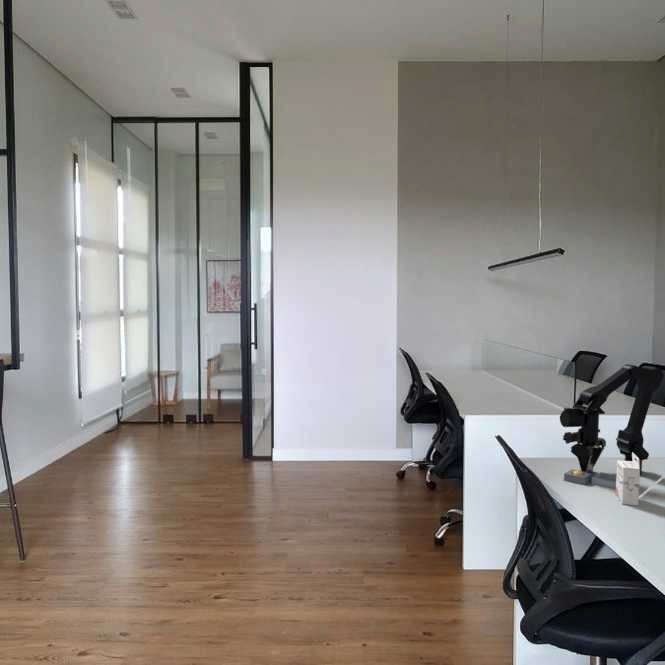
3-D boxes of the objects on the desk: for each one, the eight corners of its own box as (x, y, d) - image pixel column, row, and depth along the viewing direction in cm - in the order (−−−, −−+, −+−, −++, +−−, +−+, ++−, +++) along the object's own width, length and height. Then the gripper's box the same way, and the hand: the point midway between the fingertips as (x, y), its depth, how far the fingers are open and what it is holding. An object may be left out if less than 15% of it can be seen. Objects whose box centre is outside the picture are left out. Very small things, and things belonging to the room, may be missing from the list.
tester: (578, 471, 221) (579, 463, 221) (601, 476, 216) (602, 468, 216) (562, 481, 209) (562, 473, 209) (586, 487, 204) (586, 478, 204)
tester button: (575, 477, 211) (575, 470, 211) (583, 479, 209) (584, 472, 209) (572, 479, 209) (572, 472, 209) (580, 481, 207) (581, 473, 207)
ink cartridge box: (614, 495, 196) (616, 450, 195) (631, 496, 195) (633, 451, 194) (621, 504, 187) (623, 457, 186) (638, 506, 186) (641, 458, 185)
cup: (600, 478, 213) (600, 471, 213) (628, 484, 207) (629, 477, 207) (591, 485, 206) (591, 477, 206) (620, 491, 200) (620, 483, 200)
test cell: (584, 472, 219) (584, 460, 219) (594, 474, 217) (594, 462, 216) (580, 474, 216) (581, 462, 216) (590, 476, 214) (591, 464, 214)
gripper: (576, 419, 228) (574, 460, 229) (557, 426, 214) (555, 470, 215) (607, 423, 220) (605, 465, 221) (589, 431, 206) (587, 477, 207)
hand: (587, 469), depth 216 cm, fingers open, 9 cm apart
